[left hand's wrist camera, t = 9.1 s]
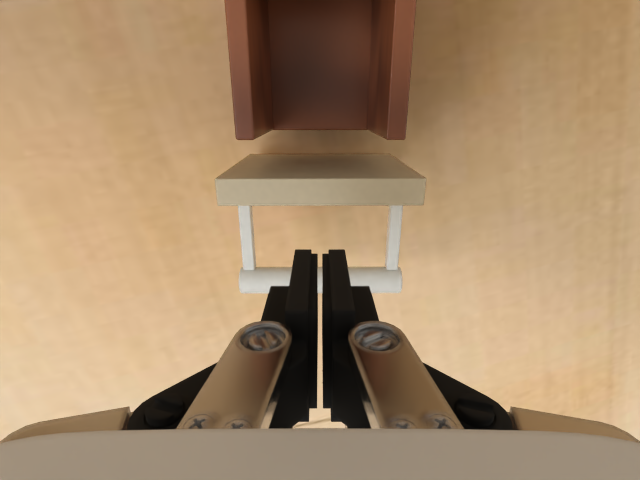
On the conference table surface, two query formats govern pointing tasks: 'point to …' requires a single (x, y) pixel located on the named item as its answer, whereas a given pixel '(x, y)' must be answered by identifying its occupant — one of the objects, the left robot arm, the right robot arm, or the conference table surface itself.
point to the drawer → (320, 116)
